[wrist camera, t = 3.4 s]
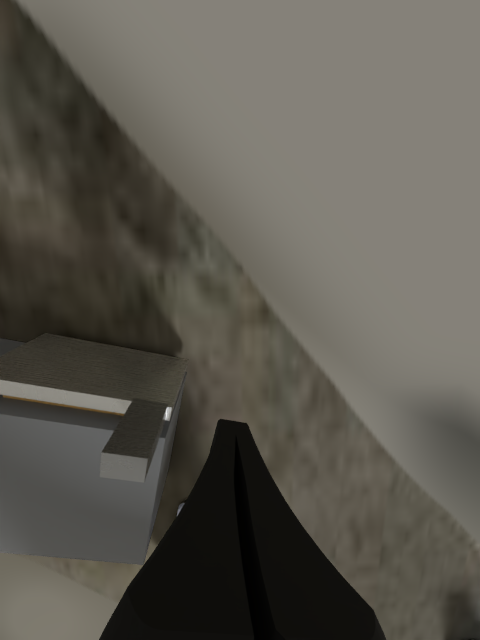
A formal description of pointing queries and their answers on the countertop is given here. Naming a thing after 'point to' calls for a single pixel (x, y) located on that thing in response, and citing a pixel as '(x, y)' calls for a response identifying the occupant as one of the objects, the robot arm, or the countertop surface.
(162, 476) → the camera housing
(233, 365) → the countertop surface
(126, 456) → the side door
